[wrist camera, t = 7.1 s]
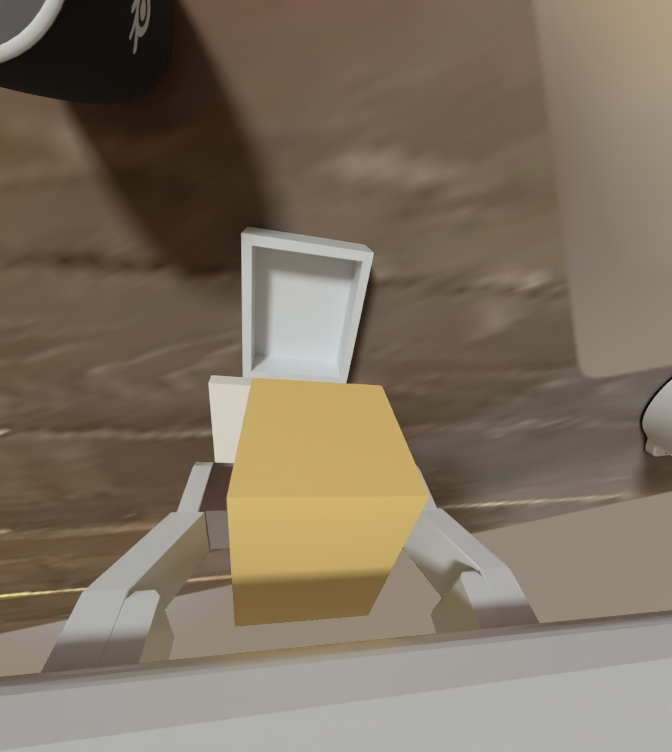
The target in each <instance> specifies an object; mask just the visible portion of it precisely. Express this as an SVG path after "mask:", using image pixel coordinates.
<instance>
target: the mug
mask: <svg viewBox="0 0 672 752" xmlns="http://www.w3.org/2000/svg"><path fill="white" fill-rule="evenodd" d="M171 43H172V13H171V5H170V0H0V87H3V88H7V89H11V90H15V91H19V92H24V93H28V94H33V95H38V96H43V97H49V98H54V99H61V100H67V101H74V102H83V103H102V104H108V103H119V102H125V101H129V100H132V99H135V98H138V97H140V96H141V95H143V94H145V93H146V92H148V91H149V90H150V89H151V88H152V87H153V86H154V85H155V84H156V83H157V82H158V80H159V79H160V77H161V76H162V74H163V72H164V70H165V67H166V65H167V62H168V59H169V55H170V50H171Z"/></svg>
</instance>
